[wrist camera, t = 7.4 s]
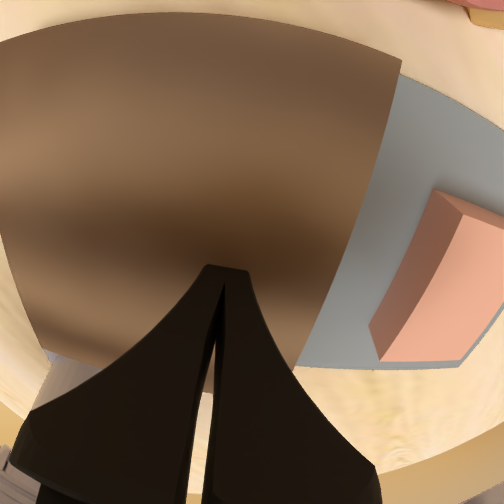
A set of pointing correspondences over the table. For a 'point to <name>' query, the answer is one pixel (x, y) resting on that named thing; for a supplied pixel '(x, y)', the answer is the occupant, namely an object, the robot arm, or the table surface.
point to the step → (181, 169)
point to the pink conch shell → (484, 12)
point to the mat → (404, 217)
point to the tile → (443, 284)
